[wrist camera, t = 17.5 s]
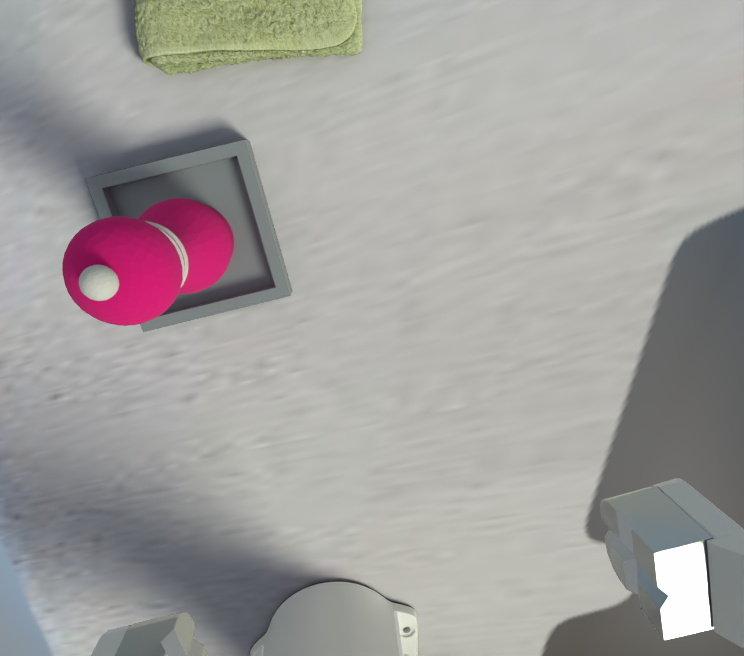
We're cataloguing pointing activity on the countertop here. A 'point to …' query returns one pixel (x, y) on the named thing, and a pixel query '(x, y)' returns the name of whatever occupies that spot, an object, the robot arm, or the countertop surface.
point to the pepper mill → (146, 260)
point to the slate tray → (221, 192)
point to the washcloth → (243, 31)
